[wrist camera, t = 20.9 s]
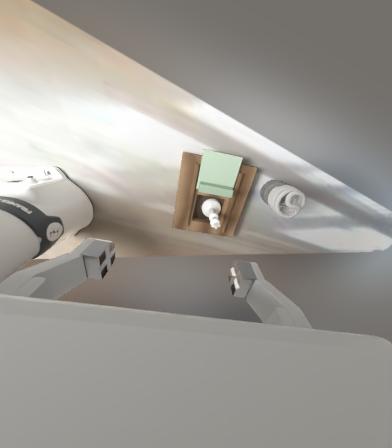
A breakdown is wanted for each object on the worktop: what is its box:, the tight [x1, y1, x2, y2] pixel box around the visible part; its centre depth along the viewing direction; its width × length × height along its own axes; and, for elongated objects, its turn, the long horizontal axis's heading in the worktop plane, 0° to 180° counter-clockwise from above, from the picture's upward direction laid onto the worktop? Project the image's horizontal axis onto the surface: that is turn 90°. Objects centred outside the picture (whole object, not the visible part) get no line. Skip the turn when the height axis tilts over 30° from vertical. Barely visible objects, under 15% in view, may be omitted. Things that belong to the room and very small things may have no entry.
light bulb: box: [261, 180, 306, 218], centre depth 33 cm, size 6×6×12 cm
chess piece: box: [202, 199, 221, 229], centre depth 36 cm, size 5×5×10 cm
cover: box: [196, 149, 243, 198], centre depth 32 cm, size 8×8×3 cm
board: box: [172, 152, 257, 237], centre depth 38 cm, size 16×18×3 cm
